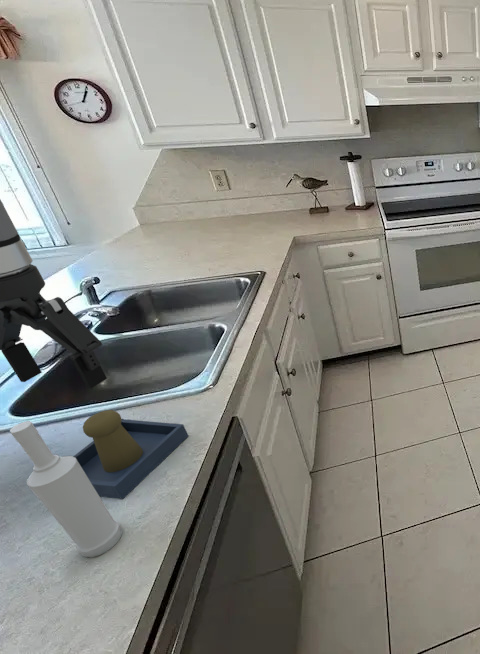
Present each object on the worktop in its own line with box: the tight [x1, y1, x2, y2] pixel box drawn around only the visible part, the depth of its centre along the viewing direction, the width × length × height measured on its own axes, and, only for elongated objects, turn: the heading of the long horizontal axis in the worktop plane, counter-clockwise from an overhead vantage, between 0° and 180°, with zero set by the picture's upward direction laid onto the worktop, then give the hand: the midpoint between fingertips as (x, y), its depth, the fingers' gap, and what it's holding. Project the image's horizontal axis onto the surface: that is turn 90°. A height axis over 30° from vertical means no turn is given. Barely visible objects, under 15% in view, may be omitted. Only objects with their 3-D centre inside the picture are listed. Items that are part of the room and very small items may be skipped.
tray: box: [72, 418, 189, 500], centre depth 80 cm, size 15×15×3 cm
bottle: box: [9, 420, 123, 558], centre depth 61 cm, size 5×5×25 cm
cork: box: [82, 409, 143, 472], centre depth 78 cm, size 6×6×11 cm
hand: (64, 380), depth 73 cm, fingers open, 13 cm apart
